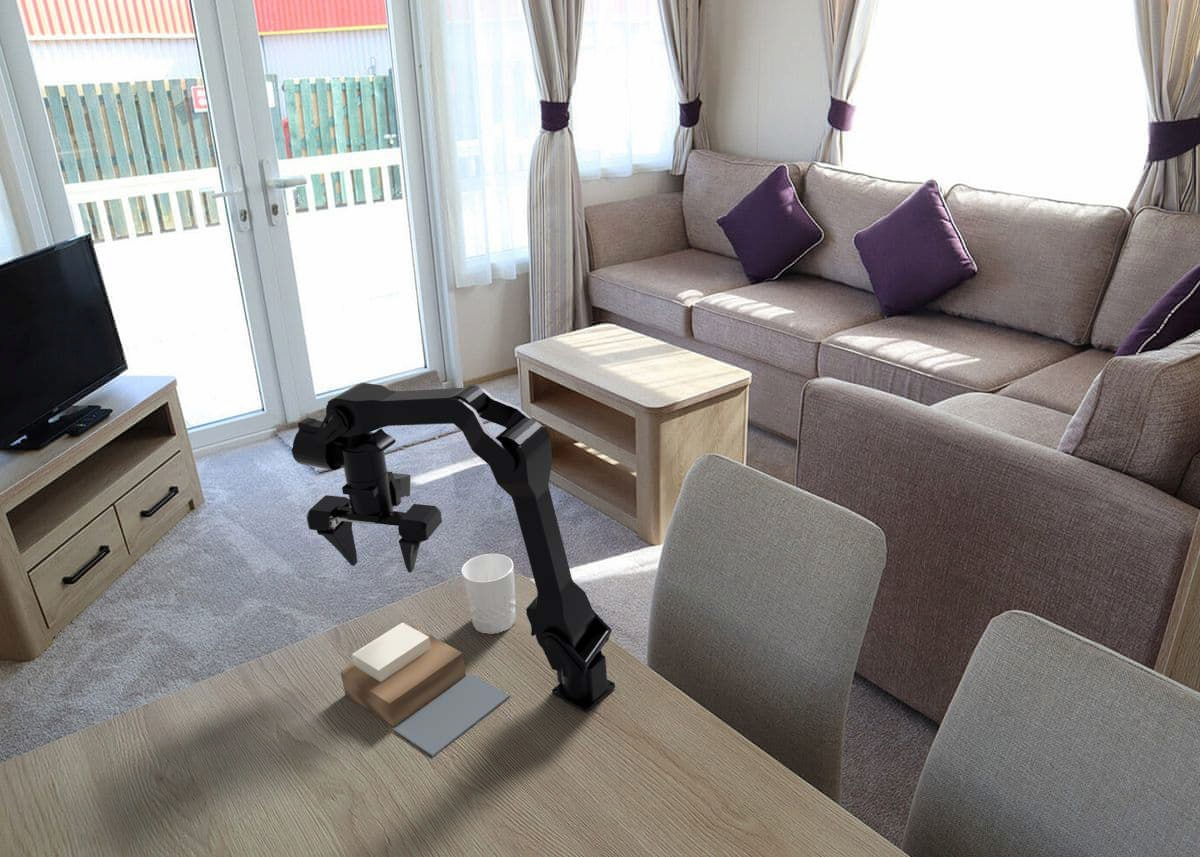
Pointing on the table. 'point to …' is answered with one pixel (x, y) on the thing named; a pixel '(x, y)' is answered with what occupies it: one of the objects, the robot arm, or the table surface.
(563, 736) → the table surface
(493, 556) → the white cup
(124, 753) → the table surface
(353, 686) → the tan beveled block
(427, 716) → the mat
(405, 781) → the table surface
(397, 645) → the white sticky note pad
